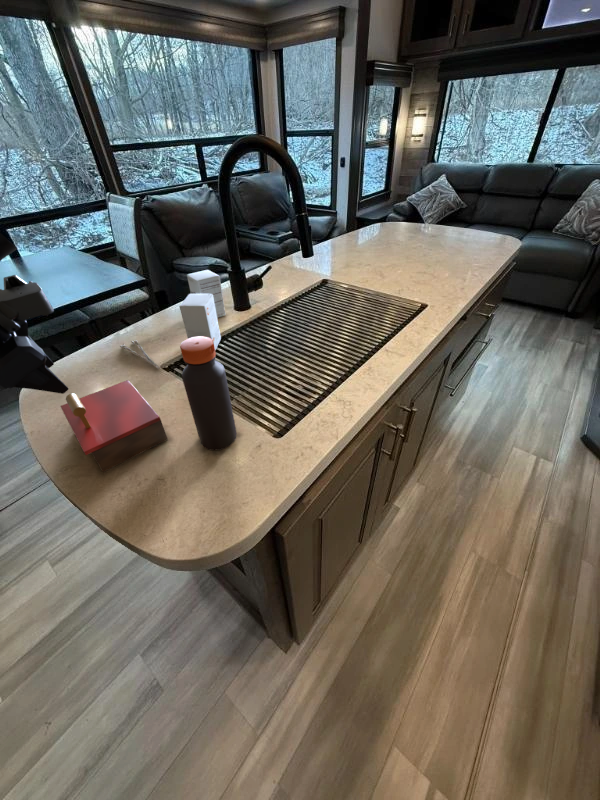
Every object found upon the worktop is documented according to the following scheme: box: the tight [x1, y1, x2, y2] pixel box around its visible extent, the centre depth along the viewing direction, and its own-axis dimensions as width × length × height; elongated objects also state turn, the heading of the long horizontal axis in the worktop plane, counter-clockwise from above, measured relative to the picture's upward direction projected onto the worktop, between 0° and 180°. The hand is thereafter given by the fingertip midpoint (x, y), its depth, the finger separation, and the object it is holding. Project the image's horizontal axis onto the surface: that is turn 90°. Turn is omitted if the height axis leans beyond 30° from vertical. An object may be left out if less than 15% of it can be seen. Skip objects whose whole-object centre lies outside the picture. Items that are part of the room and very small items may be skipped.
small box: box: [179, 293, 222, 351], centre depth 86 cm, size 8×6×13 cm
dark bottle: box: [179, 336, 237, 451], centre depth 56 cm, size 7×7×20 cm
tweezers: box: [119, 339, 161, 370], centre depth 85 cm, size 17×5×2 cm, turn 46°
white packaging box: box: [186, 269, 227, 319], centre depth 101 cm, size 7×7×13 cm
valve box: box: [91, 419, 169, 473], centre depth 62 cm, size 12×16×5 cm
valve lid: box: [60, 379, 162, 456], centre depth 59 cm, size 12×16×5 cm
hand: (58, 377), depth 52 cm, fingers open, 9 cm apart
